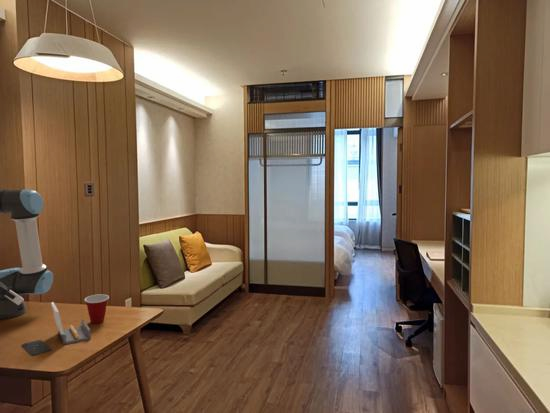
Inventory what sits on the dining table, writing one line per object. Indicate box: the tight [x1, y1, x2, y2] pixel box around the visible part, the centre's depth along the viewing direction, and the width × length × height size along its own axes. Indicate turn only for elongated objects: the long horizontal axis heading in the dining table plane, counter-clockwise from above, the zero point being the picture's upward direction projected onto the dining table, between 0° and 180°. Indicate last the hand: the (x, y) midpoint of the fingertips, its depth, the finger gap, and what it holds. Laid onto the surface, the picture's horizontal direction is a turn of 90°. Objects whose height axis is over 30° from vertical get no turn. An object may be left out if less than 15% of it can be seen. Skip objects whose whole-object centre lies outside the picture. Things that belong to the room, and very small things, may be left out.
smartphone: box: [21, 339, 53, 357], centre depth 151 cm, size 7×1×15 cm
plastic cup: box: [84, 293, 110, 325], centre depth 180 cm, size 11×11×12 cm
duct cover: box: [50, 301, 64, 335], centre depth 159 cm, size 16×10×1 cm
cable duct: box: [58, 319, 92, 345], centre depth 163 cm, size 16×10×4 cm, turn 37°
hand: (21, 302), depth 150 cm, fingers closed
